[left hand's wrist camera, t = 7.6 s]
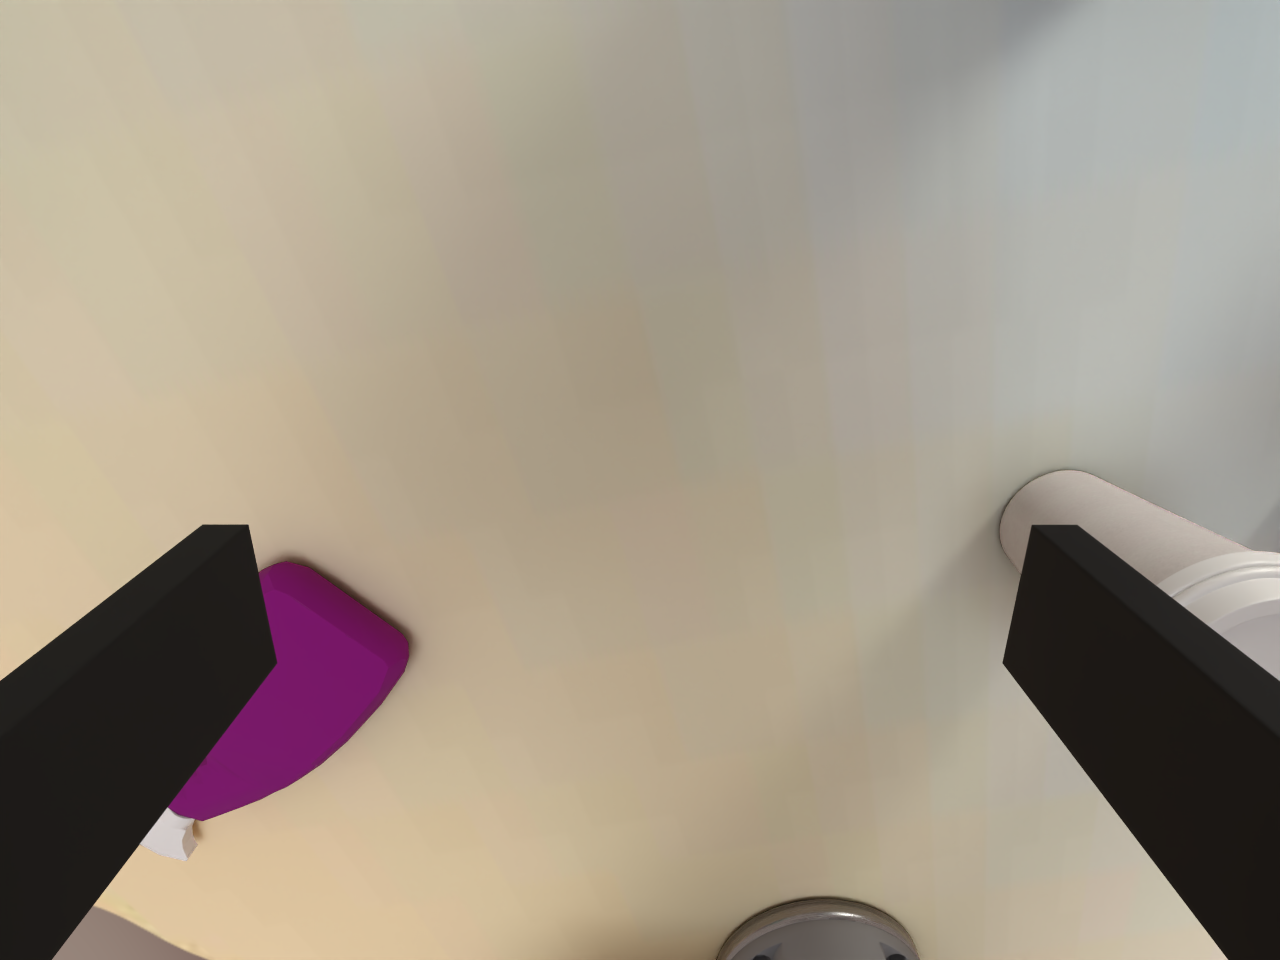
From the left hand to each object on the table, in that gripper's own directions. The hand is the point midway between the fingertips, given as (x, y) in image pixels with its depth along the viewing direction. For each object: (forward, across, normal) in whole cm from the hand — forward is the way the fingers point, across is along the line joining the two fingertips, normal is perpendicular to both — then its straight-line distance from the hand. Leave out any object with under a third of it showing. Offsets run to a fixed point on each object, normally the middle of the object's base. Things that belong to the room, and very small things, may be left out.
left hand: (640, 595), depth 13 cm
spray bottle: (+28, +25, +25) cm, 45 cm away
